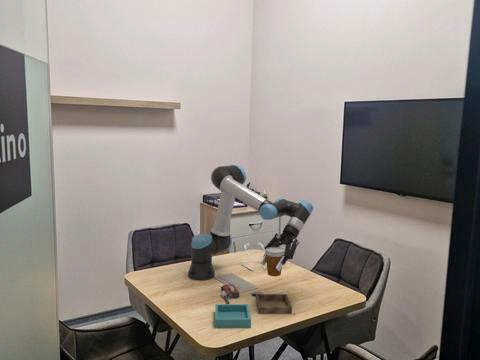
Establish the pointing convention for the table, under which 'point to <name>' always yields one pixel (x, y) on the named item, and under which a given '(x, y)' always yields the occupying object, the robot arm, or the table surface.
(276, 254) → the disposable coffee cup
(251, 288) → the table surface
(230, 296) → the walkie-talkie
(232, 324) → the teal tray
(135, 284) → the table surface
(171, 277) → the table surface
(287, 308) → the walnut cup stand
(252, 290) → the table surface
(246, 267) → the earphone
